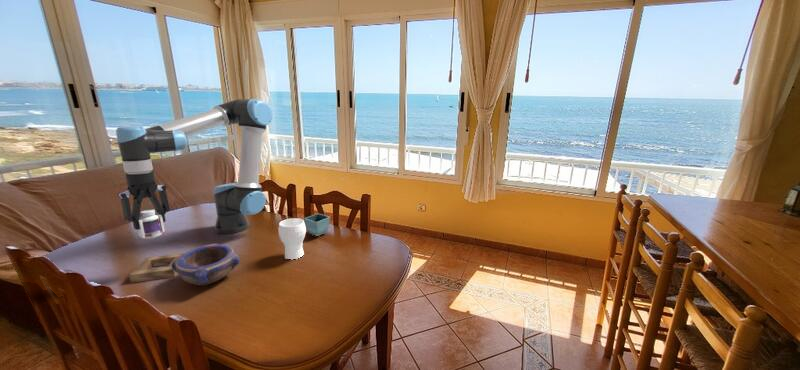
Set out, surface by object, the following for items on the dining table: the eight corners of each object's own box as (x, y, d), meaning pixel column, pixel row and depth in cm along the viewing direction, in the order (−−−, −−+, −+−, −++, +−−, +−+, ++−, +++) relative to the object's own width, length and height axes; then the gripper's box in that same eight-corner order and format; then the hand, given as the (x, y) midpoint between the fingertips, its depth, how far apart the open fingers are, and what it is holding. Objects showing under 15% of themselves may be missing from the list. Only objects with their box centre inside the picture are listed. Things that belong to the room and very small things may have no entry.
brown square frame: (186, 259, 121) (185, 253, 120) (174, 276, 109) (173, 269, 108) (147, 264, 117) (146, 257, 116) (130, 282, 105) (129, 275, 104)
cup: (312, 255, 126) (310, 222, 122) (288, 264, 118) (285, 229, 114) (299, 247, 133) (297, 215, 129) (276, 255, 125) (273, 222, 121)
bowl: (195, 300, 96) (190, 272, 93) (169, 283, 105) (164, 257, 103) (248, 274, 111) (244, 250, 108) (221, 261, 120) (218, 238, 117)
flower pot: (331, 233, 147) (330, 216, 145) (317, 240, 140) (316, 222, 138) (318, 229, 152) (317, 213, 150) (304, 235, 145) (303, 218, 143)
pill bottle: (165, 234, 111) (160, 209, 108) (149, 239, 106) (144, 214, 103) (155, 232, 112) (150, 207, 110) (139, 237, 108) (133, 212, 105)
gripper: (163, 166, 113) (174, 223, 119) (99, 175, 97) (115, 241, 103) (174, 168, 110) (185, 227, 115) (110, 178, 94) (126, 246, 99)
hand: (152, 233), depth 109 cm, fingers closed on pill bottle, 5 cm apart
